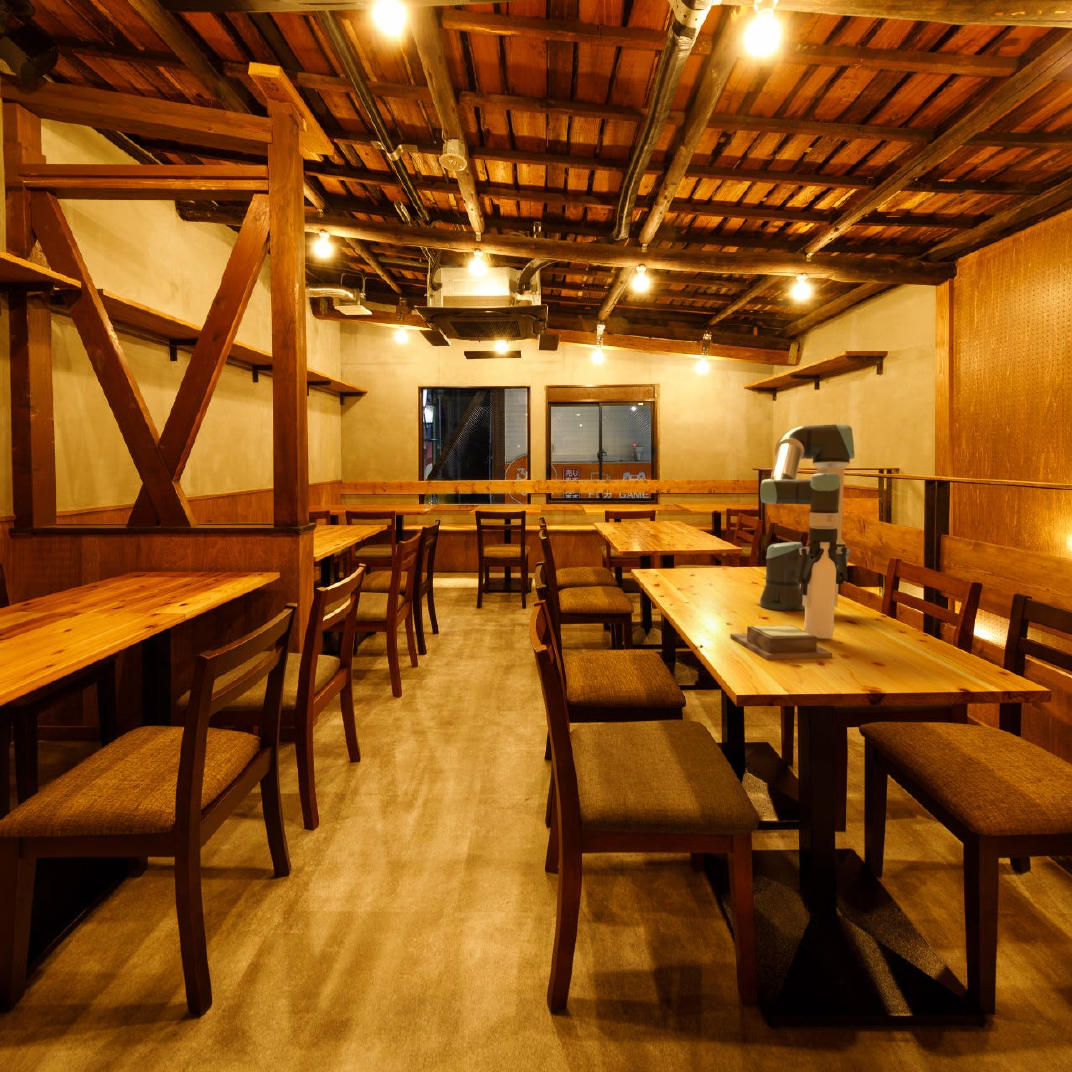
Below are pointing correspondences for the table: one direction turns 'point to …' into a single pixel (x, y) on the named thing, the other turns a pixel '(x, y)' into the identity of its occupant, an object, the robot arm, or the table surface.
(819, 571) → the bottle
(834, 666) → the table surface
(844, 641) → the table surface
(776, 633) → the stand
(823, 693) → the table surface
